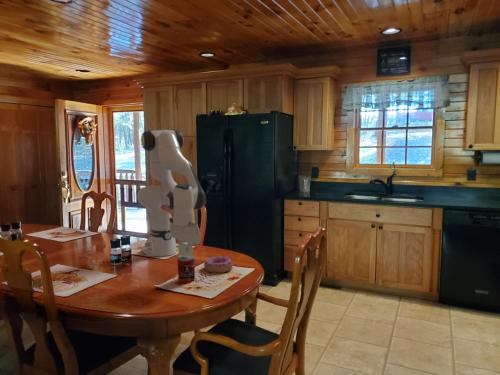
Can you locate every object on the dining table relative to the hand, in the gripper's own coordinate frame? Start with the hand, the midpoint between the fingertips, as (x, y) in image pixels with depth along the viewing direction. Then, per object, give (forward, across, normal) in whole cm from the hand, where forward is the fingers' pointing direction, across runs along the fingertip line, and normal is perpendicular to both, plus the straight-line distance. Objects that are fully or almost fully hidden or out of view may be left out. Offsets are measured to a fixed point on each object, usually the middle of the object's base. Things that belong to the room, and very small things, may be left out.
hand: (185, 250), depth 171 cm
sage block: (+2, 0, 0) cm, 2 cm away
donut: (+14, +2, -20) cm, 25 cm away
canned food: (+14, 0, 0) cm, 14 cm away
